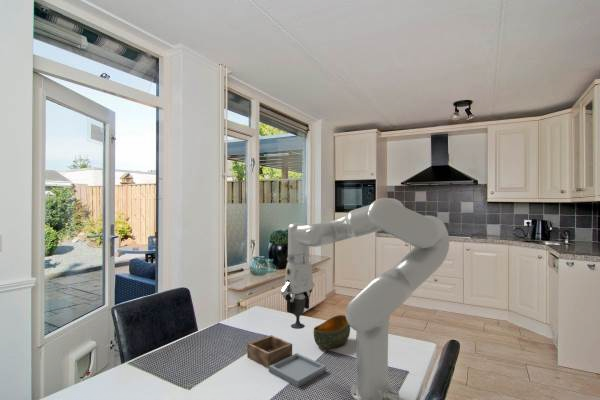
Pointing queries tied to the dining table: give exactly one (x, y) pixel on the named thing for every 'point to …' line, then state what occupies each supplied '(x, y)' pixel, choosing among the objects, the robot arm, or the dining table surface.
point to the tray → (297, 369)
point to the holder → (260, 347)
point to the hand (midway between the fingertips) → (298, 309)
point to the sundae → (299, 309)
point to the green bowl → (332, 333)
